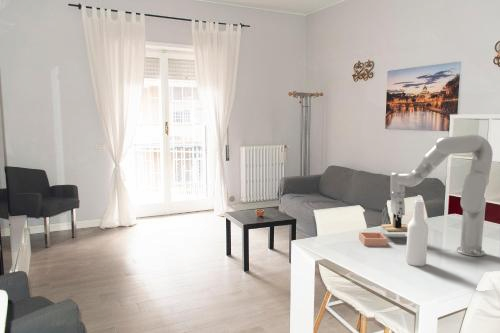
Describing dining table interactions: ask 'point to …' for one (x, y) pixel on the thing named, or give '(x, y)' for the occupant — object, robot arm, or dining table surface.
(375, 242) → the dish
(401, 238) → the mat
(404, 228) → the lid
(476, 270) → the dining table surface
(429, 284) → the dining table surface
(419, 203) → the alcohol
